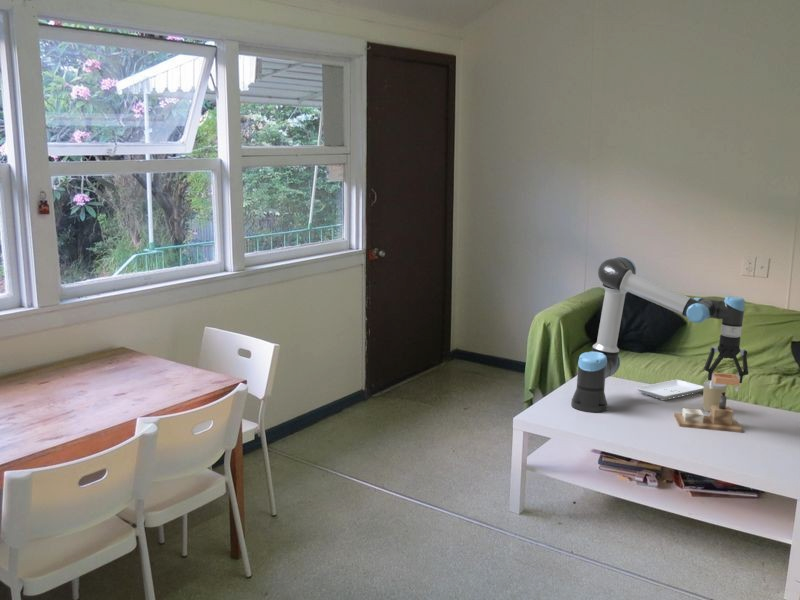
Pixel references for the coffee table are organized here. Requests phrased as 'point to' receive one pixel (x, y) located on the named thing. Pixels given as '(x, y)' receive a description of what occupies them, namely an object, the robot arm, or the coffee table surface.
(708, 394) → the coffee cup
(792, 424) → the coffee table surface
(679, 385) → the tray
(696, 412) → the stand
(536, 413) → the coffee table surface
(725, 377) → the square frame
